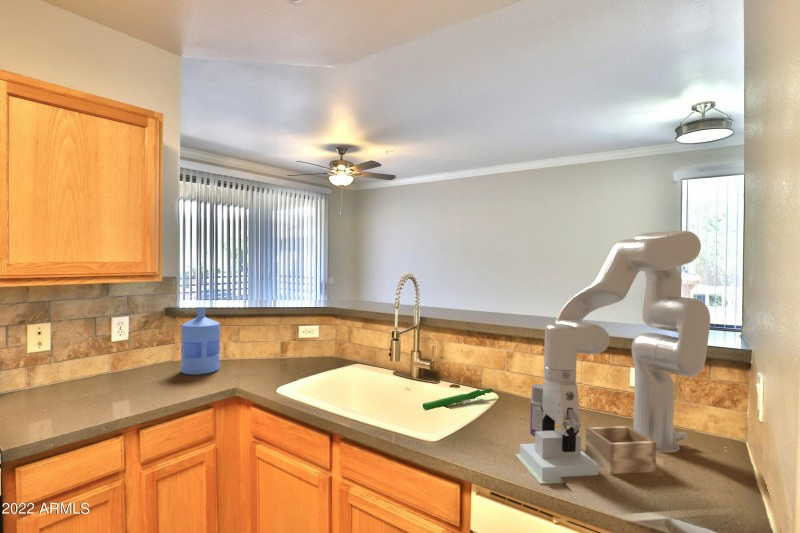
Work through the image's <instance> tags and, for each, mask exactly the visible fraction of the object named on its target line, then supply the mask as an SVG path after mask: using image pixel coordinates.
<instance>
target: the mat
mask: <svg viewBox="0 0 800 533" xmlns="http://www.w3.org/2000/svg"><path fill="white" fill-rule="evenodd" d="M514 454H515V455H514V456H515V457H516V458H517V459H518V461H519V462H520V463H521V464H522V465H523V466H524V467H525V469H527V471H528V472H529V473H530V475H531V476H532V477H533V478H534V479H535V480H536V481H537V482H538V484H539V485H552V484H553V485H554V484H567V482H566V480H565V479H563V478H562V479H559V480H541V479H540V478H539V476H538V475H537V474H536V473H535V472H534V471H533V470H532V469H531V468H530V466H529V465H528V464H527V463H526V462H525V461H524V460H523V459H522V458H521V456H520V453H514Z"/></svg>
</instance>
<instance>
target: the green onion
mask: <svg viewBox="0 0 800 533" xmlns="http://www.w3.org/2000/svg"><path fill="white" fill-rule="evenodd" d="M493 390H494V388H488V389H483V390H480V389H477V390H474V391H471V392H468V393H460V394H457V395H453V396H448V397H444V398H439V399H437V400H431V401H429V402H424V403H422V409H423V410H424V411H429V410H434V409H439V408H442V407H447V406H450V405H455V404H456V405H461V404H462V405H466V404H468V403H471V402H472V401H471V400H475V398H476V397H478V396H481V395H485V396H486V394H485V393H488V394H491V393H493Z"/></svg>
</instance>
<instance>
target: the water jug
mask: <svg viewBox="0 0 800 533" xmlns="http://www.w3.org/2000/svg"><path fill="white" fill-rule="evenodd" d="M205 310H206V307H197V311H196V314H197V315H196V317H195V318H193V319H191V320H189V321H186V322H184V323H183V324H181V328H180V334H181V337H180V338H181V340H180V341H181V345H180V356H181V358H180V359H181V360H180V364H181V365H180V372H181V373H182V374H184V375H189V376H199V375H205V374H211V373H214V372H217V371H218V370H219V369H220V367H221V366H220V365H221V363H220V351H221V350H220V349H221V344H220V341H221V340H220V337H221V336H220V335H221V334H220V333H221V326H220V322H218V321H216V320H213V319H211V318H208V317H207V316H206V315H205V314H206V311H205Z"/></svg>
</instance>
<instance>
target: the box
mask: <svg viewBox="0 0 800 533" xmlns="http://www.w3.org/2000/svg"><path fill="white" fill-rule="evenodd" d="M612 442H616V443H612ZM584 453H585V454H586V455H587V456H589V457H590V458H591V459H592V460H594V461H595V462H596V463H597V464H599V467H600V468H602V469H603V470H604V471H605V472H607V473H608V474H609V475H616V474H617V475H618V474H634V473H636V474H637V473H639V474H640V473H654V472H655V473H656V471H657V470H656V468H657V452H656V442H654V441H653V440H651V439H649V438H648V437H646V436H644V435H643V434H641V433H639V432H637V431H636V430H634V429H633V427H631V426H629V425H620V426H618V425H617V426H616V425H615V426H597V427H594V426H593V427H591V426H590V427H586V428H585V452H584Z"/></svg>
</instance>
